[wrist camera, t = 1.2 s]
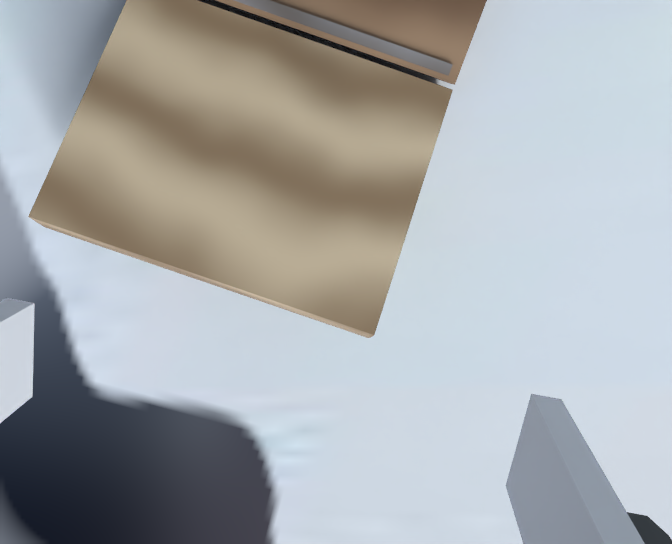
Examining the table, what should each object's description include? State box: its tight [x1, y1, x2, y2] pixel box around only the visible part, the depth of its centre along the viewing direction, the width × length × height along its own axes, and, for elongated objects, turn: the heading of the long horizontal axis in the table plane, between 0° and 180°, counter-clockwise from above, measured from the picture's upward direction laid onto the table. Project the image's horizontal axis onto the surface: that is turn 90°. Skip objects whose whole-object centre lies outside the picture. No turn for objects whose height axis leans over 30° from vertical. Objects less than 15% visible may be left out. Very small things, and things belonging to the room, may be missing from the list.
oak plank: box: [28, 0, 452, 338], centre depth 32 cm, size 14×18×2 cm
